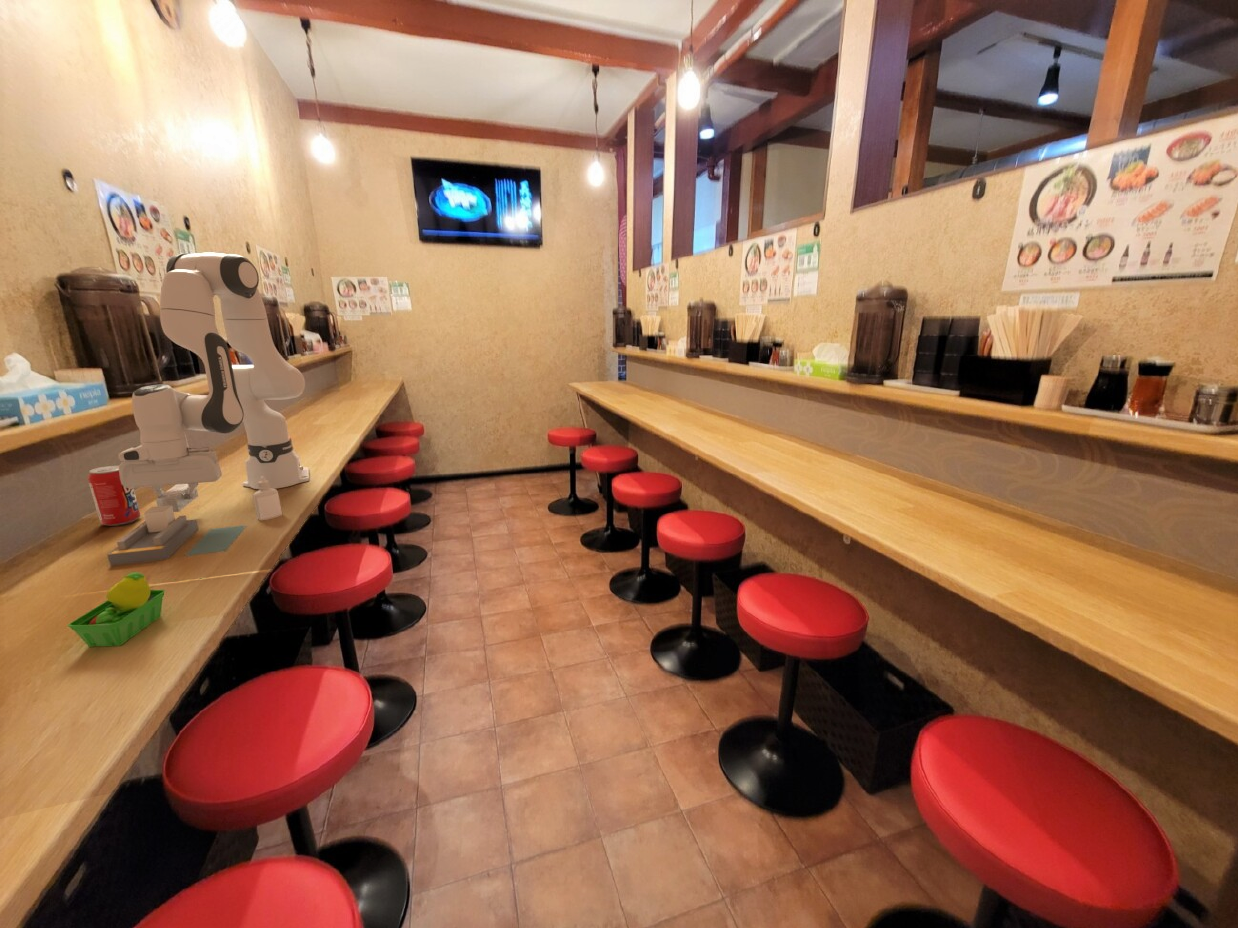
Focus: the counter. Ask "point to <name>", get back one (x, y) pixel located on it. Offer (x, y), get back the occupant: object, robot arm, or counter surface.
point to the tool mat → (216, 540)
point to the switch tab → (159, 518)
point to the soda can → (112, 497)
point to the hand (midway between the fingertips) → (178, 499)
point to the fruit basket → (120, 613)
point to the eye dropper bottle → (266, 501)
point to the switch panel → (152, 542)
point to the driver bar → (176, 497)
